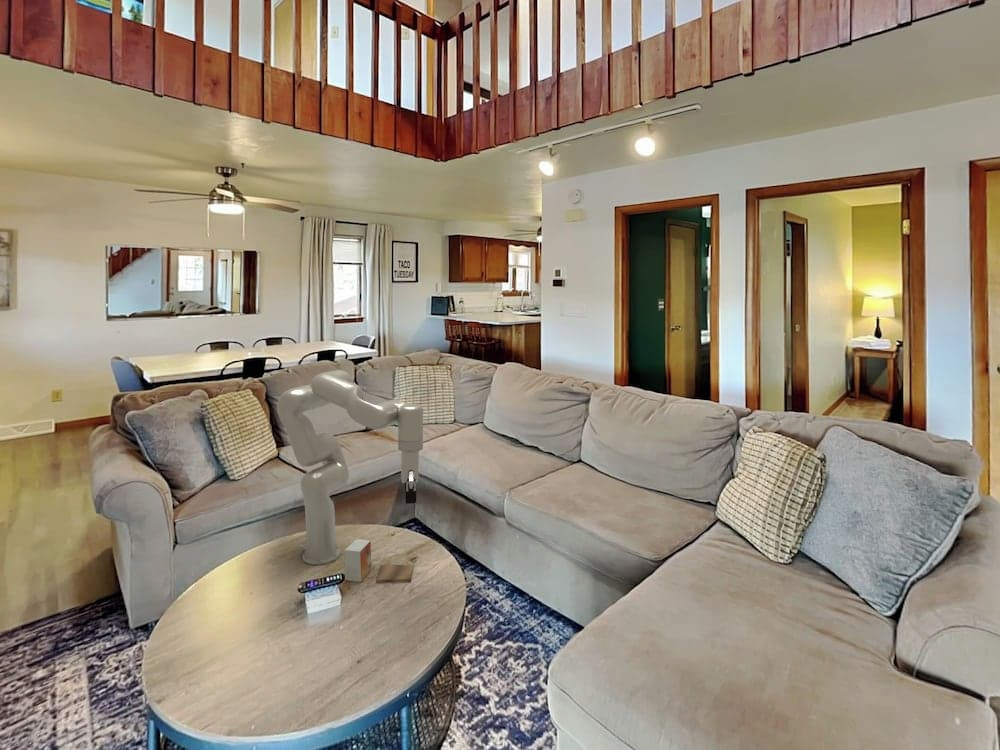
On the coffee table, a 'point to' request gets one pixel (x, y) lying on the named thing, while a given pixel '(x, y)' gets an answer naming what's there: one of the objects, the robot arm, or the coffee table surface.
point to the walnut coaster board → (394, 573)
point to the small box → (357, 560)
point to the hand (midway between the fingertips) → (410, 496)
